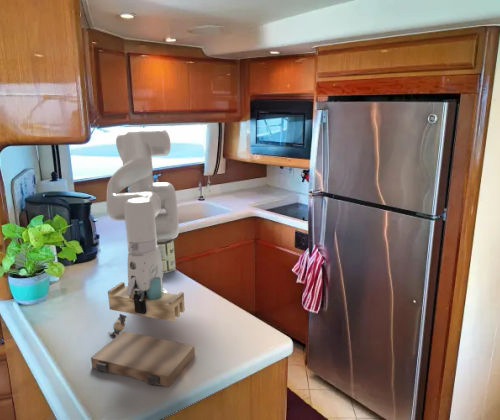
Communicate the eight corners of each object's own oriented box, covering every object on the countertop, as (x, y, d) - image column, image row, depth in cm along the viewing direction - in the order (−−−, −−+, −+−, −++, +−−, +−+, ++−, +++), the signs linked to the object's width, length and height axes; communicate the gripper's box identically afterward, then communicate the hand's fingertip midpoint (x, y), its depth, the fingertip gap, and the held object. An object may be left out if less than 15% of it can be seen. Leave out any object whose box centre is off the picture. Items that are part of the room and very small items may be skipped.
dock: (89, 369, 110) (88, 359, 109) (124, 339, 124) (123, 330, 123) (166, 389, 102) (165, 379, 101) (194, 355, 116) (194, 345, 115)
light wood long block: (109, 309, 112) (107, 291, 111) (123, 299, 118) (121, 282, 116) (173, 321, 106) (172, 302, 104) (184, 310, 111) (183, 292, 110)
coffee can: (153, 264, 181) (151, 234, 177) (177, 263, 181) (175, 233, 177) (149, 273, 171) (146, 242, 167) (173, 273, 171) (171, 241, 168)
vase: (121, 326, 131) (121, 310, 130) (132, 332, 128) (132, 316, 127) (107, 333, 127) (106, 316, 125) (118, 340, 124) (117, 323, 122)
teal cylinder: (143, 298, 109) (142, 281, 107) (152, 292, 112) (150, 275, 111) (156, 301, 107) (155, 283, 106) (164, 294, 111) (163, 277, 110)
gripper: (135, 258, 98) (141, 325, 102) (171, 236, 113) (175, 295, 118) (109, 254, 100) (116, 320, 105) (148, 233, 116) (153, 291, 121)
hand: (147, 306), depth 111 cm, fingers closed on light wood long block, 6 cm apart
